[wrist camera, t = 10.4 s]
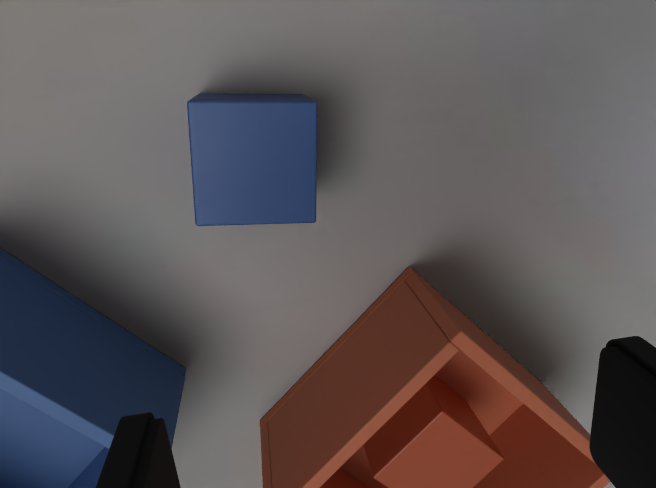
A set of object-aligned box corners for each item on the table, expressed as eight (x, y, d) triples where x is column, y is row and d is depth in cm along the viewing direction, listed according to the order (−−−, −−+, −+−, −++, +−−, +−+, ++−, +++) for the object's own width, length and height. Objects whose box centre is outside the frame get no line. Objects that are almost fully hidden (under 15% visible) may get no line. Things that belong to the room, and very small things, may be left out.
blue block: (197, 93, 21) (186, 100, 17) (303, 94, 22) (317, 101, 18) (204, 197, 23) (195, 226, 19) (303, 195, 24) (316, 223, 19)
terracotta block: (411, 357, 26) (442, 410, 22) (466, 400, 28) (505, 459, 24) (353, 415, 27) (372, 478, 23) (409, 455, 29) (437, 521, 24)
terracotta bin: (409, 266, 25) (461, 330, 19) (543, 384, 29) (623, 470, 23) (259, 420, 27) (263, 525, 21) (404, 514, 31) (444, 627, 25)
